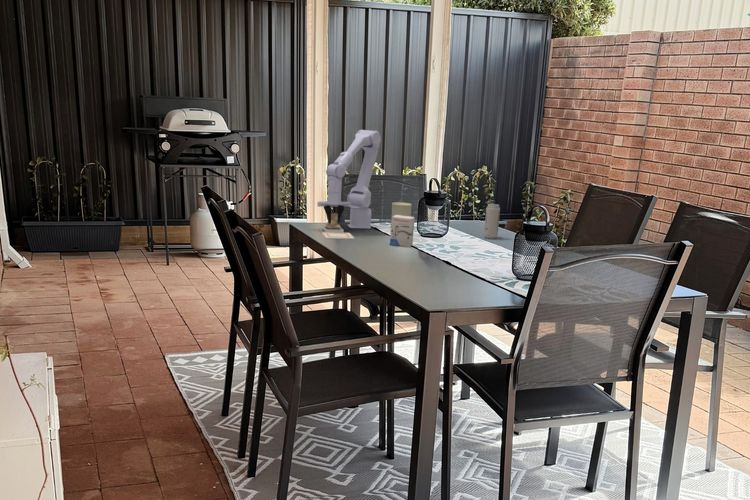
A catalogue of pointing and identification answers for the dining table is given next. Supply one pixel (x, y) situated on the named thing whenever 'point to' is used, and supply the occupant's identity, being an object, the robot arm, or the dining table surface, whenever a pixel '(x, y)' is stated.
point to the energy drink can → (492, 221)
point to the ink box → (402, 231)
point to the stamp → (333, 222)
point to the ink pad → (333, 230)
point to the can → (401, 209)
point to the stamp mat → (337, 235)
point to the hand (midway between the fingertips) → (333, 222)
